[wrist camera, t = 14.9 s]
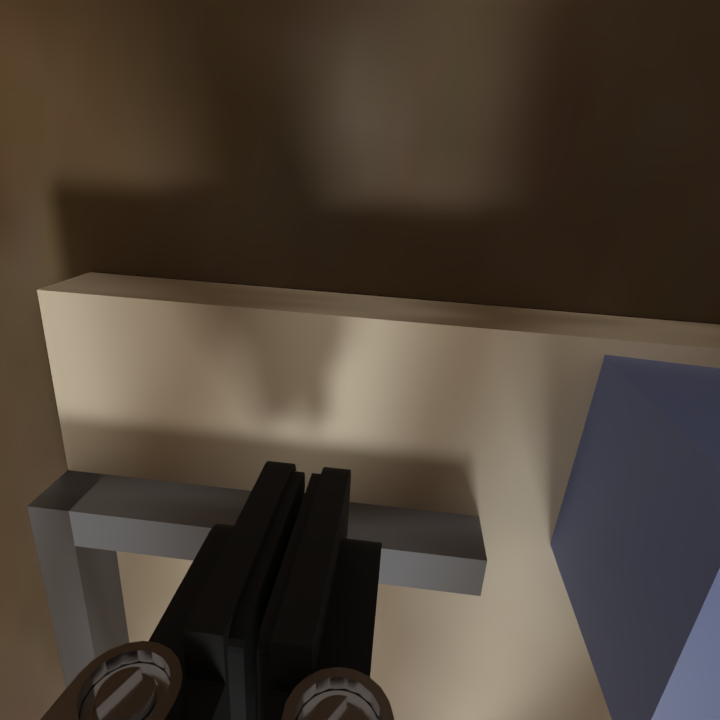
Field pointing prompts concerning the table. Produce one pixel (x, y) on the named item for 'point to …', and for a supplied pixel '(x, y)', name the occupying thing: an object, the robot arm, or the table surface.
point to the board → (337, 466)
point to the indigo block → (648, 539)
